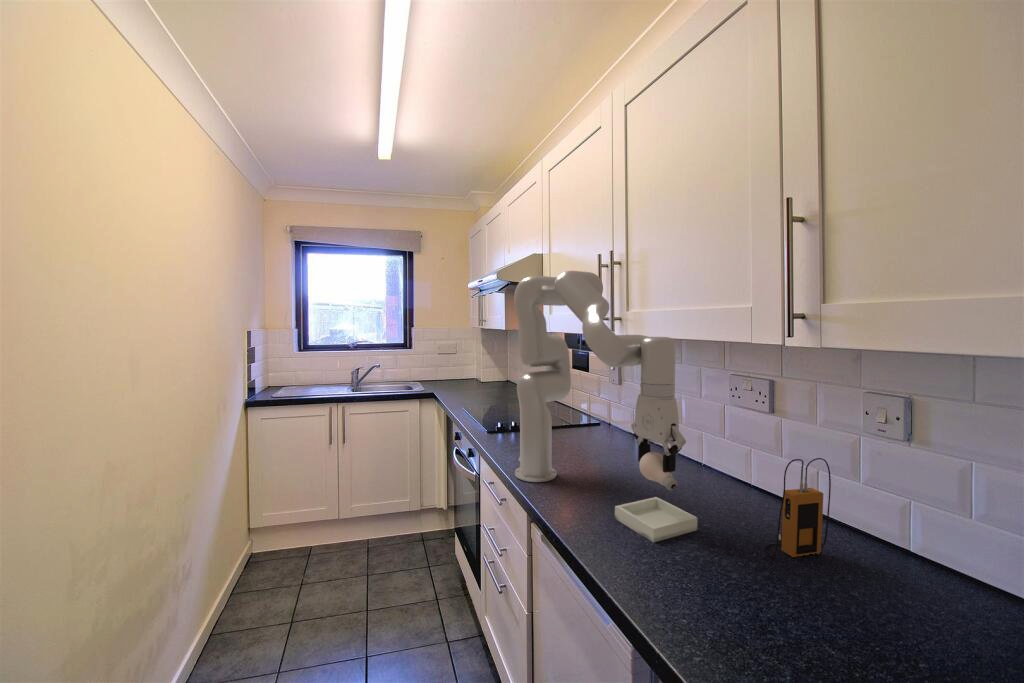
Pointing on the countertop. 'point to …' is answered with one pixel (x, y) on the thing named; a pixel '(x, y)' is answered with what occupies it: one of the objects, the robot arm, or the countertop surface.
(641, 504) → the tray
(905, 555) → the countertop surface
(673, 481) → the light bulb
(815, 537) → the multimeter
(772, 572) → the countertop surface
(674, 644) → the countertop surface
